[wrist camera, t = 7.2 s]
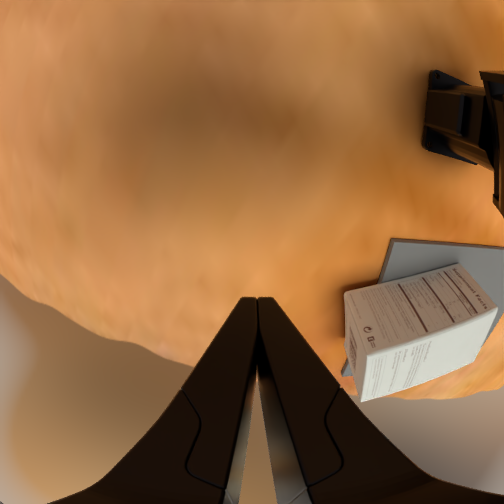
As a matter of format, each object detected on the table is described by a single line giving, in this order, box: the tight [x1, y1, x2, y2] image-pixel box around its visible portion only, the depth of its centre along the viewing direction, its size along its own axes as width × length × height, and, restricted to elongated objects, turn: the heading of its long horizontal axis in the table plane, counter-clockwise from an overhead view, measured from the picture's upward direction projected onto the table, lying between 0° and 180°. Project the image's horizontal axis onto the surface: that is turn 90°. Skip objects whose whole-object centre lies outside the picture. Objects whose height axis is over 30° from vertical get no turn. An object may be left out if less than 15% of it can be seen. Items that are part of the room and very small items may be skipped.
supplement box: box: [344, 263, 498, 402], centre depth 21 cm, size 7×7×13 cm
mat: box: [341, 238, 504, 377], centre depth 26 cm, size 24×18×1 cm
